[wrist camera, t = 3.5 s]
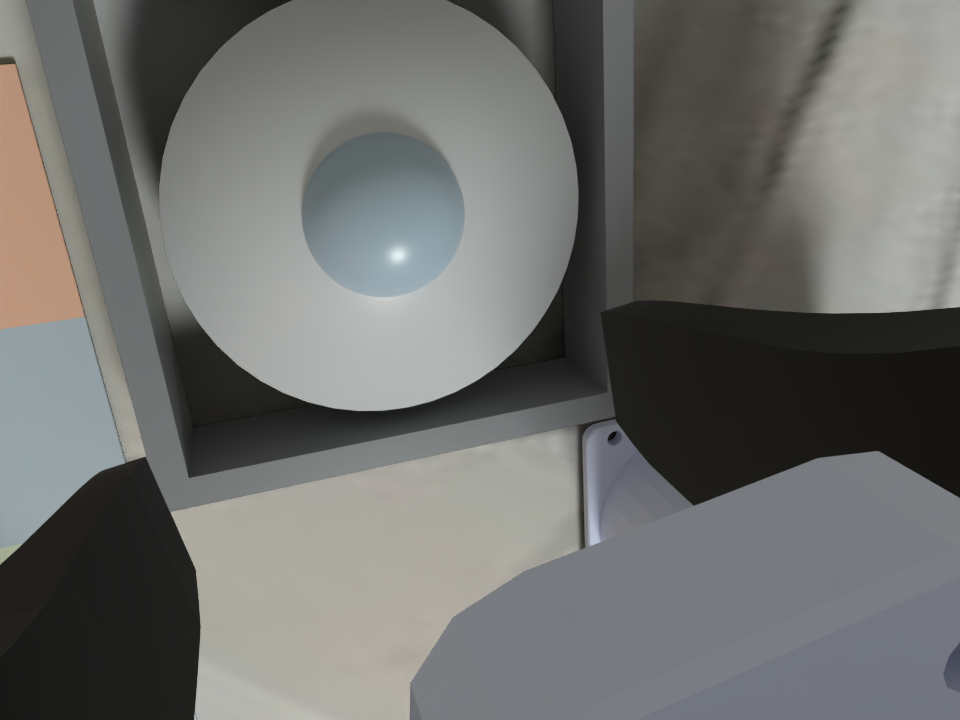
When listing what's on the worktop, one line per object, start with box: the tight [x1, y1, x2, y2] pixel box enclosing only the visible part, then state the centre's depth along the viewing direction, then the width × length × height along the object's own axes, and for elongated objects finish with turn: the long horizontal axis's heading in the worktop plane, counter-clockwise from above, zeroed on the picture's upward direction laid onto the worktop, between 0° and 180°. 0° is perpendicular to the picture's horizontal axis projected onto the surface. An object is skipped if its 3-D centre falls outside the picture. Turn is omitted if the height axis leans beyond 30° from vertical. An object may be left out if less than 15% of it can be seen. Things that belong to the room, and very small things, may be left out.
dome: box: [159, 0, 579, 411], centre depth 19 cm, size 10×10×4 cm
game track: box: [0, 64, 197, 720], centre depth 21 cm, size 7×24×1 cm, turn 4°
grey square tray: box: [26, 0, 634, 512], centre depth 19 cm, size 13×13×3 cm
